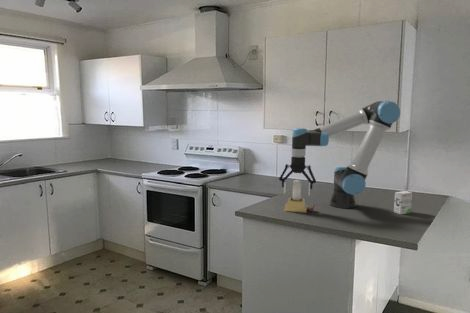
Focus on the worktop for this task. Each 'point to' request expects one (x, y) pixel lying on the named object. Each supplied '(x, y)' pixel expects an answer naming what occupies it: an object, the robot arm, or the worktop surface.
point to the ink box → (402, 202)
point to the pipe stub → (296, 190)
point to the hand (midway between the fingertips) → (296, 194)
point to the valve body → (297, 206)
